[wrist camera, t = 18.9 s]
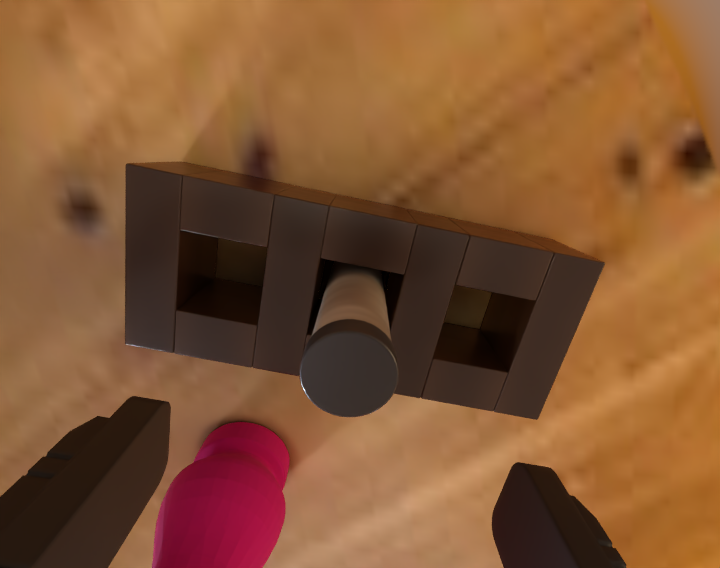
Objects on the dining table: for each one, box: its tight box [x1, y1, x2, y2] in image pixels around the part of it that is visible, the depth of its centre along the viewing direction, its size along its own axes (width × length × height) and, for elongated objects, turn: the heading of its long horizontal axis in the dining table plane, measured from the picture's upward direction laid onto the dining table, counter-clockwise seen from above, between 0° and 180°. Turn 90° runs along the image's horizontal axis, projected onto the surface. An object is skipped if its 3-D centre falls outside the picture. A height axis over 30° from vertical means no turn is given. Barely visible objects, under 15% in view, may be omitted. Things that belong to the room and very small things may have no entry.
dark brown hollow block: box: [125, 162, 605, 420], centre depth 20 cm, size 21×9×5 cm, turn 78°
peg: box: [299, 261, 399, 417], centre depth 17 cm, size 3×3×11 cm
